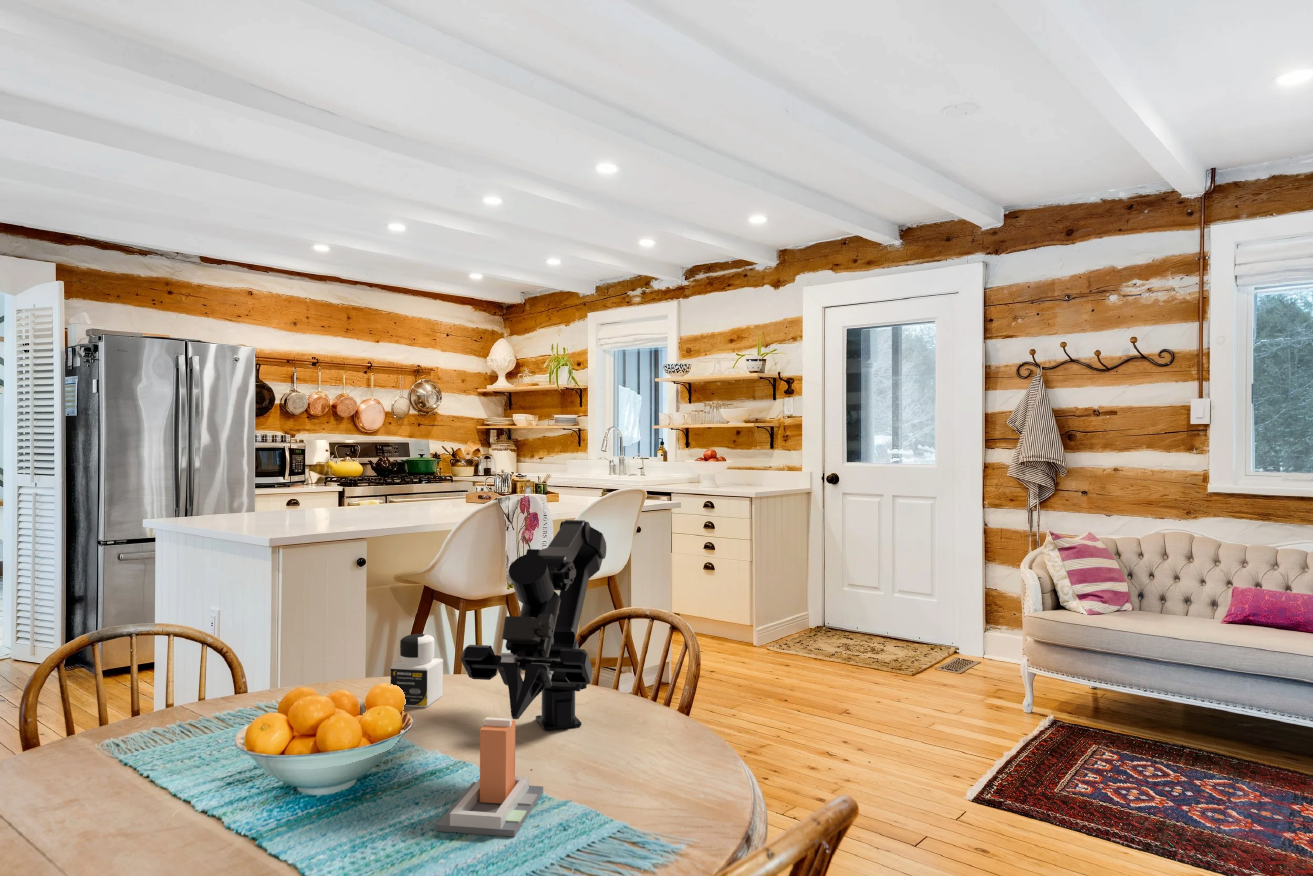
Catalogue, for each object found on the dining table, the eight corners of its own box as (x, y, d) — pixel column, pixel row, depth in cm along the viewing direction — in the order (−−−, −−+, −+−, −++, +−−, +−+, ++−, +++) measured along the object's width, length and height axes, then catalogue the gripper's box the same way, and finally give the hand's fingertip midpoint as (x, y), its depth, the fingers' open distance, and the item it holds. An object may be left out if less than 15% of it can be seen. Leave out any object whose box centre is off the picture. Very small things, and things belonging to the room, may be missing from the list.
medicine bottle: (389, 706, 152) (390, 639, 152) (407, 694, 159) (408, 630, 159) (426, 708, 151) (427, 641, 151) (443, 696, 158) (443, 632, 158)
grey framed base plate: (473, 787, 117) (473, 771, 117) (543, 792, 116) (543, 775, 116) (436, 831, 104) (436, 812, 104) (514, 836, 103) (514, 818, 103)
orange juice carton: (489, 789, 114) (490, 713, 114) (514, 791, 114) (515, 714, 114) (479, 802, 110) (480, 723, 110) (505, 804, 110) (506, 725, 110)
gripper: (465, 590, 126) (435, 686, 115) (588, 594, 123) (569, 692, 112) (483, 632, 133) (456, 724, 122) (598, 636, 131) (582, 731, 120)
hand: (514, 718), depth 119 cm, fingers closed
